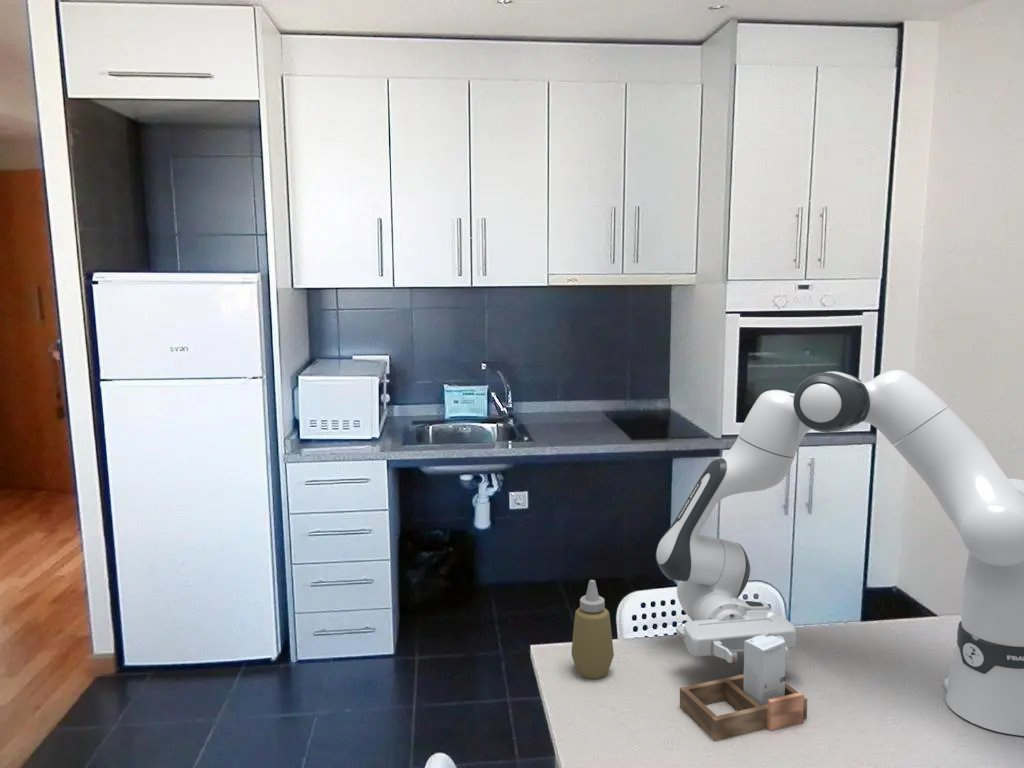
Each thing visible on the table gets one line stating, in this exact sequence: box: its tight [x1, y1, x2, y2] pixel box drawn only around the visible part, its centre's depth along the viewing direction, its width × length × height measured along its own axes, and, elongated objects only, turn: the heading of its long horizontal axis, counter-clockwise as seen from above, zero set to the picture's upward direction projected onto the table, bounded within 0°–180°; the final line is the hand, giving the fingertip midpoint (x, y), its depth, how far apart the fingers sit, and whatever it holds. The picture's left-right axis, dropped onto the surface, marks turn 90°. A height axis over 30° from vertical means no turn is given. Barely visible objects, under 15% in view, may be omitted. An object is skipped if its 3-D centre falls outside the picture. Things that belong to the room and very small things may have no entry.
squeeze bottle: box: [571, 579, 615, 679], centre depth 139 cm, size 8×8×18 cm
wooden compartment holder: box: [679, 673, 808, 742], centre depth 124 cm, size 18×11×5 cm, turn 109°
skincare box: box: [743, 633, 787, 706], centre depth 126 cm, size 6×4×12 cm
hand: (759, 656), depth 127 cm, fingers open, 8 cm apart
